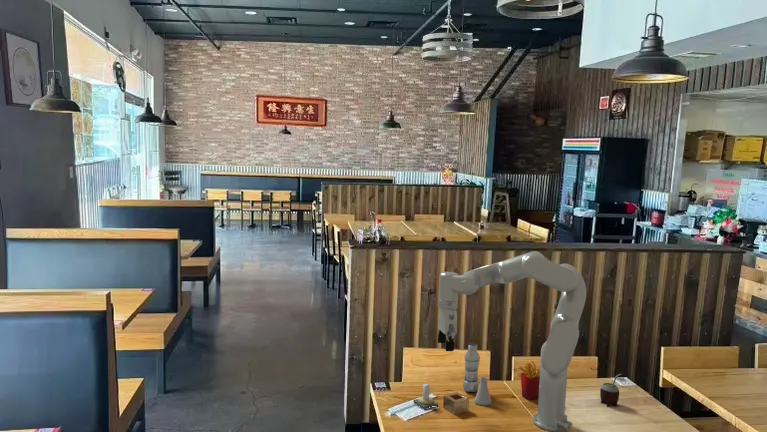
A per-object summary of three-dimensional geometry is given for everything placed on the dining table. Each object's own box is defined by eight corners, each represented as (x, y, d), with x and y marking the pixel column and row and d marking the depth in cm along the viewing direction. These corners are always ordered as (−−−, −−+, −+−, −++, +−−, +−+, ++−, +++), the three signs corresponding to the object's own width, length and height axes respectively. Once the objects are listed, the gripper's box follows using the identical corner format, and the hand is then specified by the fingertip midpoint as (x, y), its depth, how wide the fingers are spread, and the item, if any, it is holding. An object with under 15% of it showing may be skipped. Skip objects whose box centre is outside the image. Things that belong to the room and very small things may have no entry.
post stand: (438, 406, 207) (438, 386, 207) (423, 409, 204) (424, 389, 203) (427, 399, 213) (428, 380, 213) (413, 402, 210) (414, 383, 209)
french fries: (542, 400, 216) (544, 364, 215) (525, 403, 213) (527, 366, 212) (528, 391, 224) (530, 357, 223) (512, 394, 221) (514, 359, 220)
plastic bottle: (459, 389, 225) (461, 343, 223) (472, 387, 228) (474, 341, 226) (468, 395, 219) (470, 348, 217) (481, 392, 222) (483, 346, 220)
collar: (468, 411, 204) (469, 398, 204) (454, 414, 200) (454, 402, 200) (457, 404, 210) (457, 391, 210) (443, 407, 206) (443, 395, 206)
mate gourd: (601, 399, 219) (603, 364, 218) (621, 404, 215) (624, 368, 214) (598, 405, 212) (600, 369, 211) (619, 410, 208) (621, 373, 207)
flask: (492, 407, 208) (493, 382, 207) (473, 405, 210) (474, 380, 209) (491, 399, 215) (493, 376, 214) (474, 397, 217) (475, 374, 216)
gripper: (464, 309, 197) (462, 354, 198) (449, 298, 214) (447, 339, 215) (445, 309, 195) (443, 354, 196) (431, 298, 212) (429, 340, 213)
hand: (445, 346), depth 206 cm, fingers open, 9 cm apart
